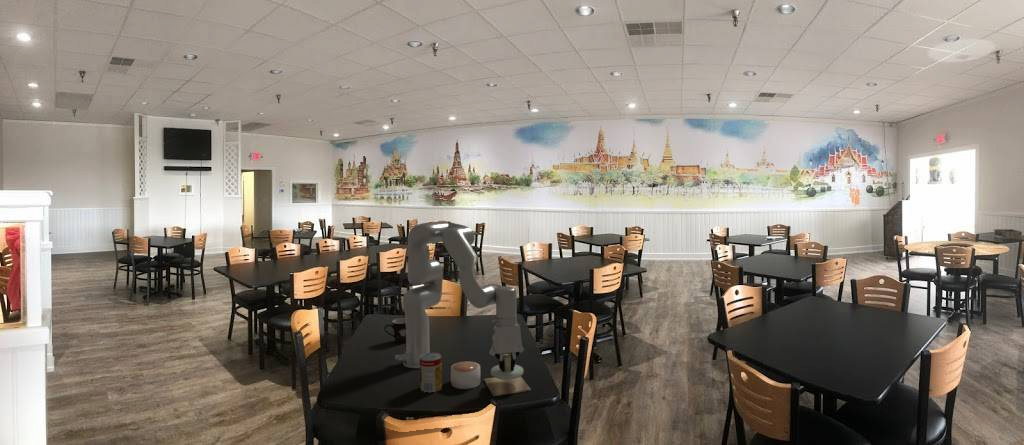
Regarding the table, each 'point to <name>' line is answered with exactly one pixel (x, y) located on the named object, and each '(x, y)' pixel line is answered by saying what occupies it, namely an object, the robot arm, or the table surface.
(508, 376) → the lid
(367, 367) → the table surface
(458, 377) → the bowl
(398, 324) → the coffee mug
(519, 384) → the mat
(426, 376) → the canned food
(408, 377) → the table surface
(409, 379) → the table surface
